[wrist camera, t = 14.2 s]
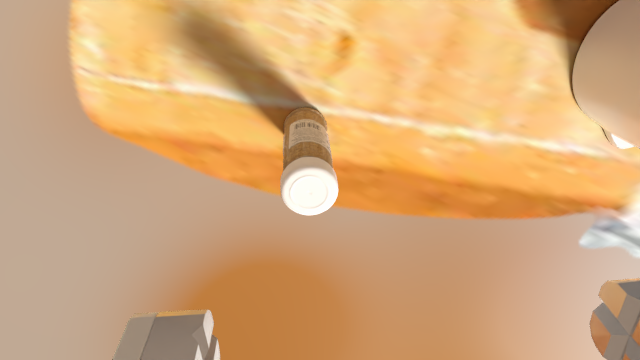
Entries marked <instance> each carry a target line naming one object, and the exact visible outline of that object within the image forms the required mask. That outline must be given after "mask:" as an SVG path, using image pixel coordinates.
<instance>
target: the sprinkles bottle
mask: <svg viewBox="0 0 640 360" xmlns="http://www.w3.org/2000/svg"><path fill="white" fill-rule="evenodd" d="M283 156H284V159H283V173H282V176H281V196H282V199H283V201H284V203H285V204H286V205H287V206H288V207H289V208H290V209H291V210H292V211H294V212H296V213H299V214H302V215H315V214H319V213H322V212H324V211H326V210H327V209H329V208H330V207H331V206H332V205H333V203H334V202H335V200H336V198H337V195H338V183H337V177H336V173H335V171H334V169H333V165H332V156H331V150H330V143H329V138H328V134H327V123H326V121H325V118H324V117H323V115H322V114H321V113H320V112H318V111H317V110H315V109H312V108H307V107H304V108H298V109H296V110H294V111H292V112H291V113H290V114H289V115H288V116H287V117H286V119H285V122H284V139H283Z"/></svg>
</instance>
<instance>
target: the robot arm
mask: <svg viewBox="0 0 640 360" xmlns="http://www.w3.org/2000/svg"><path fill="white" fill-rule="evenodd" d="M572 83H573V91H574V95H575V99H576V101H577V103H578V105H579V107H580V108H581V110H582V111H583V112H584V113H585V114H586V115H587V116H588V117H589V118H590V119H592V120H593V121H595V122H596V123H598V124H599V125H600V126H601V127H602V128H603V129H604V132H605V134H606V136H607V138H608V140H609V142H610V143H611V144H612V145H614V146H616V147H618V148H620V149H626V148H631V147H635V146H636V147H638V148H640V0H619V1H618V2H616V3H615V4H614V5H612V6H611V7H610V8H609V9H608V10H607V11H606V12H605V13H604V14H603V15H602V16H601V17H600V18H599V19H598V20H597V21H596V23H595V24H594V25H593V26H592V28H591V29H590V31H589V32H588V34H587V35H586V37H585V39H584V41H583V42H582V44H581V46H580V49H579V51H578V54H577V57H576V60H575V64H574V68H573V78H572ZM599 297H600V299H601V300H602V302H603V303H602V304H601V305H600V306H598V307H597V308H596V309H595V310H594V311H593V313H592V317H591V320H590V329H591V336H592V339H593V341H594V343H595V346H596V347H597V348H598V350H599V352H600V353H601V355H602V356H603V357H604V358H606V359H607V360H640V278H638V279H625V280H613V281H607V282H606V283H604V284H603V285H602V287H601V289H600V292H599ZM213 325H214V322H213V318H212V314H211V311H209V310H190V311H168V312H159V313H137V314H134V315H133V316H132V317H131V318H130V320H129V321H128V323H127V326H126V328H125V330H124V333H123V336H122V338H121V340H120V343H119V345H118V347H117V350H116V352H115V354H114V357H113V359H112V360H220V352H219V344H218V340H217V338H216V337H215V336H214V335H212V330H213Z"/></svg>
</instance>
